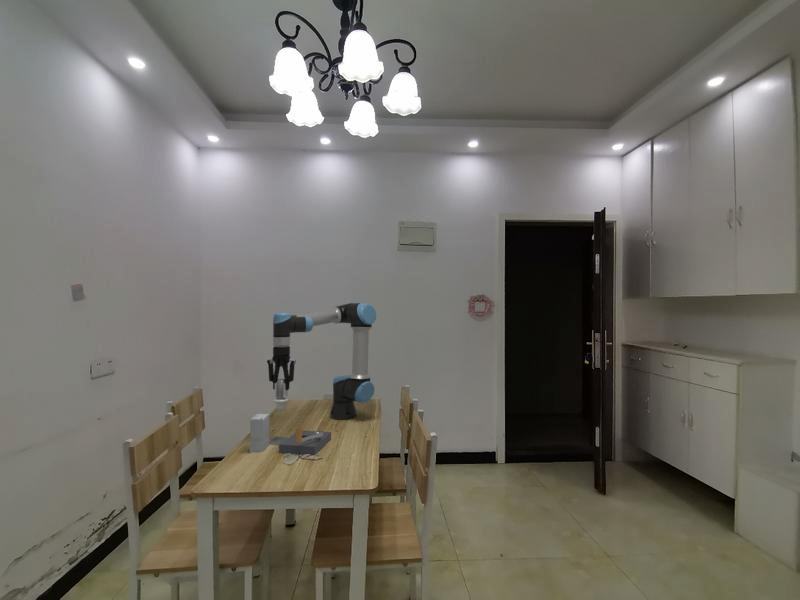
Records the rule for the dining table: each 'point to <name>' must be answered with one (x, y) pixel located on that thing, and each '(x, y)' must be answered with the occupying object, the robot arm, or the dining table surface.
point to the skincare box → (259, 432)
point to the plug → (280, 396)
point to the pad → (277, 440)
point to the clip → (300, 439)
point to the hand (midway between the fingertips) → (281, 396)
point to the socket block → (305, 443)
